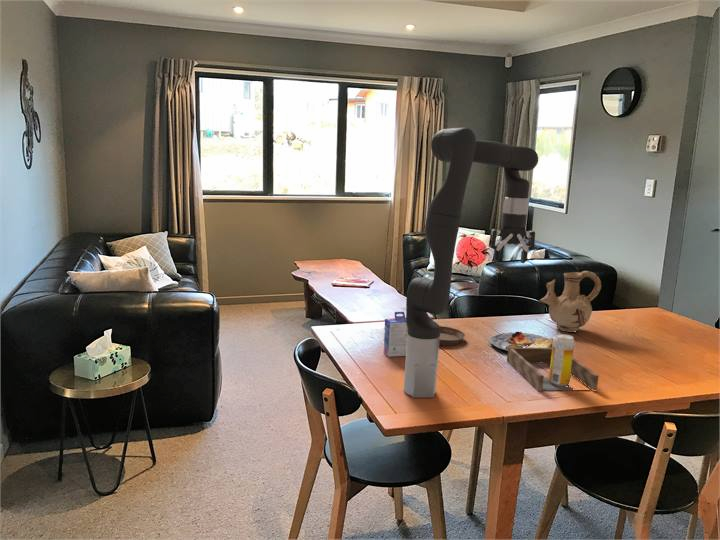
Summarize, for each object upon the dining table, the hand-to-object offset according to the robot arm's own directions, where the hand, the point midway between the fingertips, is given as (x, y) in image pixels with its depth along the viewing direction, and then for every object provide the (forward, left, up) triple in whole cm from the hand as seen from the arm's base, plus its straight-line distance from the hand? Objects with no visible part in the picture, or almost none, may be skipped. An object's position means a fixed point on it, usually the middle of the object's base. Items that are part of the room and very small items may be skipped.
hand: (509, 262), depth 187 cm
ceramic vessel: (+40, -43, -35) cm, 68 cm away
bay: (-10, -13, -35) cm, 38 cm away
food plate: (+17, -16, -35) cm, 42 cm away
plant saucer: (+26, +13, -35) cm, 46 cm away
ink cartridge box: (+10, +32, -35) cm, 49 cm away
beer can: (-17, -13, -34) cm, 40 cm away
